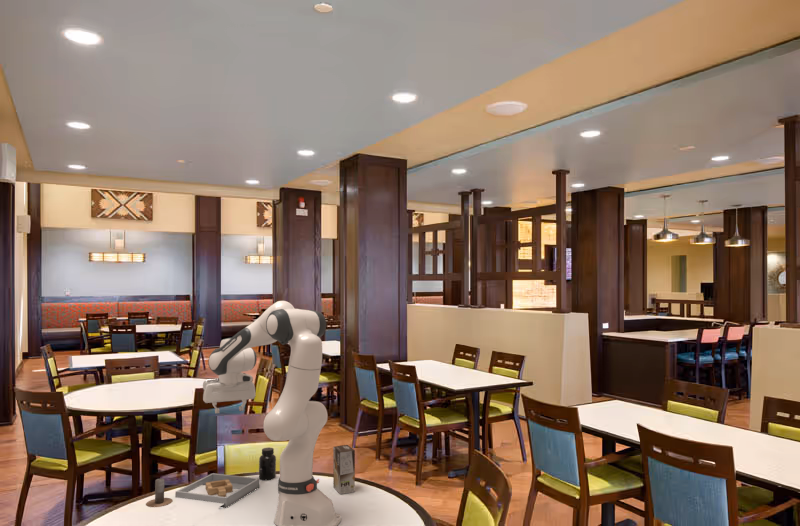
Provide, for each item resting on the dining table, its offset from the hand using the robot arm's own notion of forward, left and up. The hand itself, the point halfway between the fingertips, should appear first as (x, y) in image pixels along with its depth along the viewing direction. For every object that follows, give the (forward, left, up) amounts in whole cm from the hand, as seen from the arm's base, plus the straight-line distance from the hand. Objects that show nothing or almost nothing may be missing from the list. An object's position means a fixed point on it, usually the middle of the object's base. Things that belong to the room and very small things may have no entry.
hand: (229, 412), depth 222 cm
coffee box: (-46, -10, -30) cm, 56 cm away
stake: (+11, +26, -29) cm, 41 cm away
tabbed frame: (-4, +10, -29) cm, 30 cm away
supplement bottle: (-10, -13, -30) cm, 34 cm away
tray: (-2, +9, -29) cm, 31 cm away
